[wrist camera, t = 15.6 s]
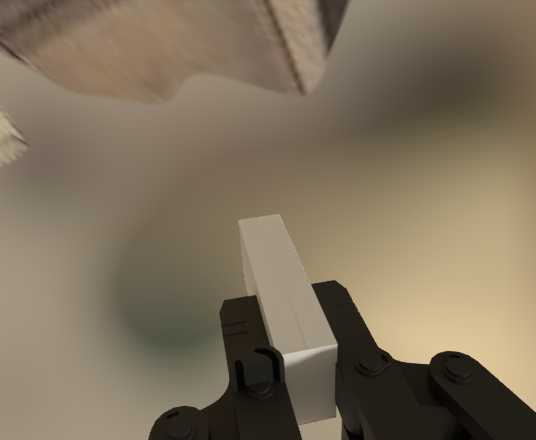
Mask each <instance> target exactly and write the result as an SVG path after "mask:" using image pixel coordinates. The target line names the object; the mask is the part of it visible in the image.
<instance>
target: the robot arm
mask: <svg viewBox="0 0 536 440" xmlns="http://www.w3.org/2000/svg"><path fill="white" fill-rule="evenodd" d="M238 222H239V231H240V240H241V250H242V260H243V269H244V277H245V284H246V288H247V292H248V296H246V297H241V298H235V299H229V300H224V302H223V305H222V307H221V310H220V312H219V314H220V320H221V327H222V334H223V340H224V347H225V353H226V360H227V365H228V372H229V385H228V388H227V390H226V391H225V393H224V395H222V396H221V397H220V398H219V400H217V401H216V402H215V403H213V404H211V405H209V406H208V407H206V408H204V409H202V410H198V409H197V408H195V407H189V406H181V407H175V408H172V409H170V410H168V411H167V412H165V413H163V414H162V415H161V416H160V417H159V418H158V419H157V420H156V421H155V423H154V425H153V427H152V430H151V432H150V435H149V439H148V440H302V438H301V434H300V431H299V427H298V425H301V424H306V423H311V422H316V421H320V420H325V419H329V418H334V417H336V405H337V408H338V410H339V413H340V415H341V418H342V435H341V440H536V412H535V411H533V410H532V409H531V408H530V407H529V406H528V405H527V404H525V403H524V402H523V401H522V400H521V399H520V398H519V397H517V396H516V395H515V394H514V393H513V392H512V391H510V389H508V388H507V387H506V386H505V385H504V384H503V383H502V382H500V381H499V380H498V379H497V378H496V377H495V376H494V375H493V374H491V373H490V372H489V371H488V370H487V369H486V368H485V367H483V366H482V365H481V364H480V363H479V362H478V361H476V360H475V359H473V358H472V357H470V356H469V355H466V354H463V353H460V352H455V351H445V352H442V353H438V354H437V355H435V356H434V357H433V358H432V359H431V362H430V364H416V363H406V362H401V361H397V360H395V359H393V358H392V356H391V355H390V354H389V353H388V352H386V351H384V350H382V349H381V348H379V347H378V346H377V344H376V342H375V341H374V339H373V337H372V335H371V333H370V331H369V329H368V328H367V326H366V324H365V322H364V320H363V318H362V317H361V315H360V313H359V312H358V309H357V307H356V306H355V304H354V303H353V301H352V299H351V297H350V295H349V293H348V291H347V289H346V288H344V287H343V286H342V285H341V284H339V283H338V282H337V281H335V280H332V281H327V282H321V283H315V284H310V281H309V279H308V277H307V275H306V273H305V270H304V268H303V266H302V263H301V261H300V259H299V257H298V255H297V252H296V250H295V248H294V245H293V243H292V241H291V239H290V237H289V234H288V232H287V230H286V228H285V225H284V223H283V221H282V219H281V217H280V214H275V215H269V216H262V217H256V218H249V219H243V220H238Z"/></svg>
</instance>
